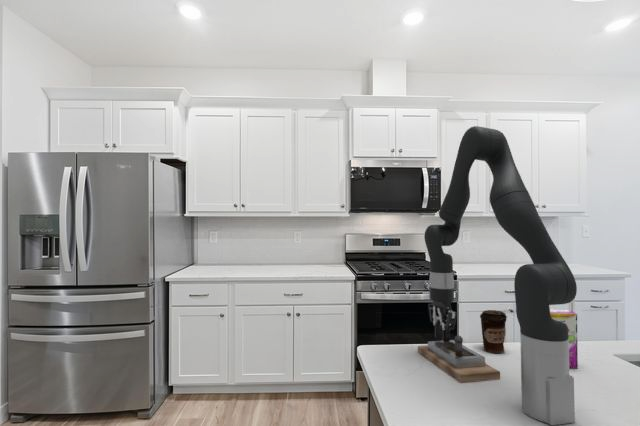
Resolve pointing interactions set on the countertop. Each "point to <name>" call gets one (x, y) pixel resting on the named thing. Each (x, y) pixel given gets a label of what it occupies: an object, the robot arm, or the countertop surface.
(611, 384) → the countertop surface
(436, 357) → the board
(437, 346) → the grey picture frame
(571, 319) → the candy bar box
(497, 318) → the coffee cup
